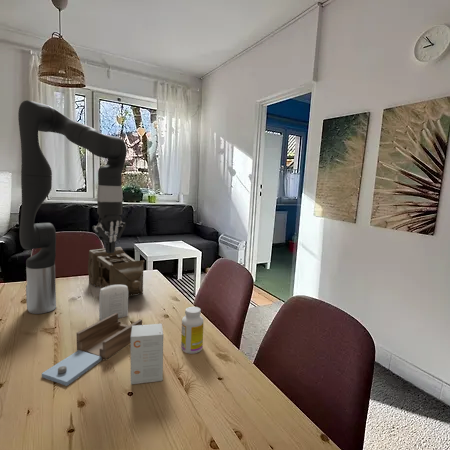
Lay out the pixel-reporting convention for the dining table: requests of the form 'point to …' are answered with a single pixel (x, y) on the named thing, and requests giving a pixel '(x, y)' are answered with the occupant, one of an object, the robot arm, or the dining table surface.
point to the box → (105, 337)
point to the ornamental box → (115, 270)
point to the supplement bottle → (192, 331)
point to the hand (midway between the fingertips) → (110, 252)
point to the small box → (146, 353)
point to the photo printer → (113, 301)
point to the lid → (71, 367)
